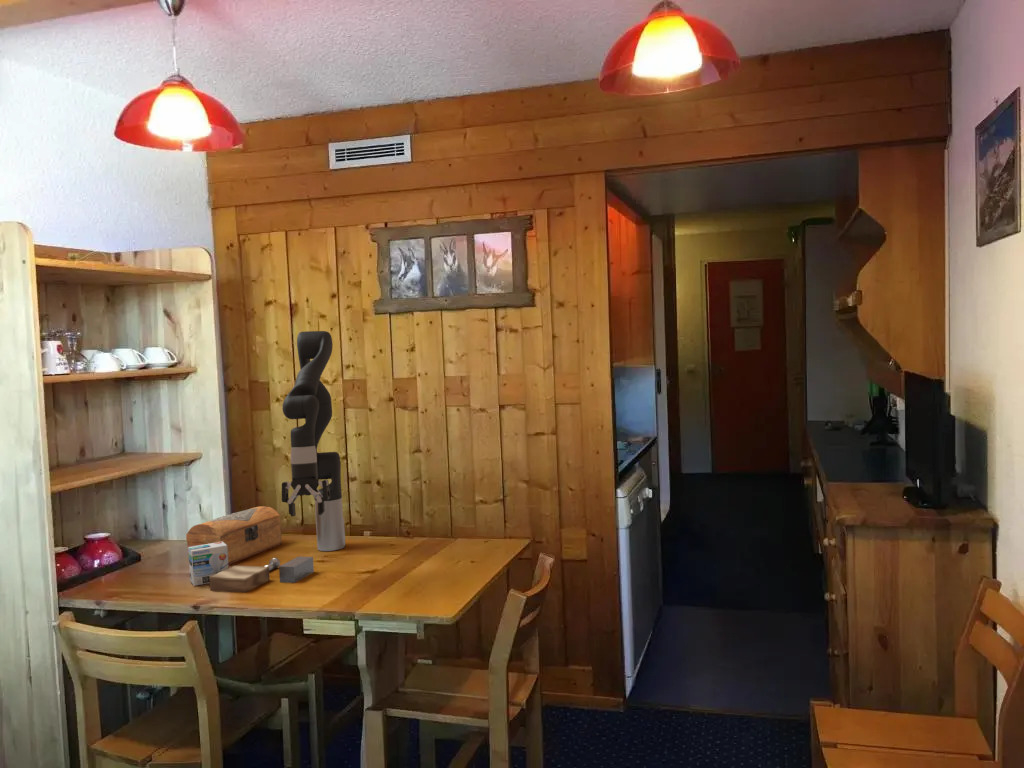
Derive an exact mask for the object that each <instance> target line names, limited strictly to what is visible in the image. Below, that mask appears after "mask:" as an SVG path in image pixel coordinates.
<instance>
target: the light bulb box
mask: <svg viewBox="0 0 1024 768" xmlns="http://www.w3.org/2000/svg"><path fill="white" fill-rule="evenodd" d="M187 553H188V555H187V556H188V567H189V568H188V569H189V581H190V583H191V584H192V585H193V586H194V587H195V586H202V585H207V584H210V578H209V577H211V576H213V575H215V574H217V573H219V572H222V571H224V570H226V569H228V568H230V567H229V566H230V565H228V548H227V545H226V544H225V543H224V542H223V541H221V542H216V543H210V544H204V545H198V546H192V547H188V546H187Z"/></svg>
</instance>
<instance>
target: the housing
mask: <svg viewBox="0 0 1024 768" xmlns="http://www.w3.org/2000/svg"><path fill="white" fill-rule="evenodd" d="M314 568H315V567H314V556H297V557H295V558H292V559H291V560H289V561H287V562H284V563H283V564H280V565H279V567H278V572H279V573H278V574H279V583H290V584H295V583H297V582H299V581H301V580H303V579H304V578H306V577H308V576H309V575H311V573H312V574H313V573H314V571H315V569H314Z"/></svg>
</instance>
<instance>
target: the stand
mask: <svg viewBox="0 0 1024 768" xmlns="http://www.w3.org/2000/svg"><path fill="white" fill-rule="evenodd" d="M209 578H210V583H209V588H210V589H209V591H214V592H231V593H232V592H234V593H247V592H249V591H251V590H253V589H255V588H257V587H259V586H261V585H262V584H263V585H264V584H265V583H266V582H268V581H271V579H270V571H269V567H264V566H258V565H256V566H253V565H232V566H231V567H229V568H228V569H226V570H224V571H222V572H219V573H217V574H215V575H213V576H211V577H209Z"/></svg>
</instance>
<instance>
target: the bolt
mask: <svg viewBox="0 0 1024 768" xmlns="http://www.w3.org/2000/svg"><path fill="white" fill-rule="evenodd" d="M279 566H281V562H280V559H279V558H277V557H273V558H271V559H270V560H269V564H267V565H264V566H263V567H269V572H271V571H273V570H275V569H277V568H279Z"/></svg>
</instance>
